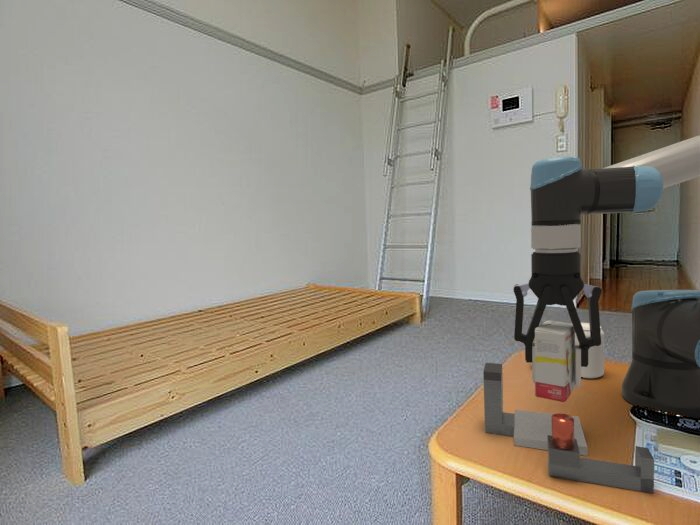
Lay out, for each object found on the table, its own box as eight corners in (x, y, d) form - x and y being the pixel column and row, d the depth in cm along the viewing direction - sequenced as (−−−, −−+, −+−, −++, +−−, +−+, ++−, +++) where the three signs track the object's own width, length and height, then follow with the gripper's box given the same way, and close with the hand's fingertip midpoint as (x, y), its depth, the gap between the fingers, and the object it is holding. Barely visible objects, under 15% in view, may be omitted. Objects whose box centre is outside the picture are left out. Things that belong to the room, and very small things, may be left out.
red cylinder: (576, 454, 63) (576, 413, 62) (579, 468, 59) (579, 426, 59) (547, 449, 64) (547, 410, 64) (549, 463, 61) (548, 422, 60)
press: (578, 424, 76) (578, 364, 75) (587, 456, 66) (587, 387, 65) (488, 413, 82) (486, 357, 81) (483, 440, 72) (482, 377, 71)
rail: (647, 480, 59) (647, 447, 59) (653, 493, 56) (654, 458, 56) (547, 464, 64) (547, 434, 64) (549, 475, 61) (548, 444, 61)
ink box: (565, 404, 67) (564, 333, 66) (533, 397, 70) (532, 329, 69) (577, 386, 74) (576, 322, 73) (547, 381, 77) (546, 319, 76)
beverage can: (564, 367, 106) (563, 321, 105) (600, 369, 103) (600, 322, 102) (567, 378, 98) (567, 329, 97) (606, 381, 95) (606, 330, 94)
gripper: (615, 248, 70) (614, 379, 72) (497, 250, 77) (499, 369, 79) (626, 251, 63) (624, 396, 65) (495, 253, 70) (497, 384, 72)
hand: (555, 381), depth 72 cm, fingers closed on ink box, 6 cm apart
